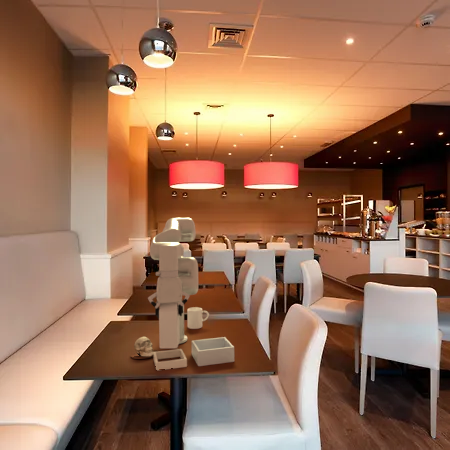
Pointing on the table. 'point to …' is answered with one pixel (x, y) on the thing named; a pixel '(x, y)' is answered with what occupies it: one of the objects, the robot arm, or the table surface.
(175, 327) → the milk carton
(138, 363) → the table surface
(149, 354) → the skull
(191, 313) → the mug
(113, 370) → the table surface
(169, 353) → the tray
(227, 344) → the tub
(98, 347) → the table surface
